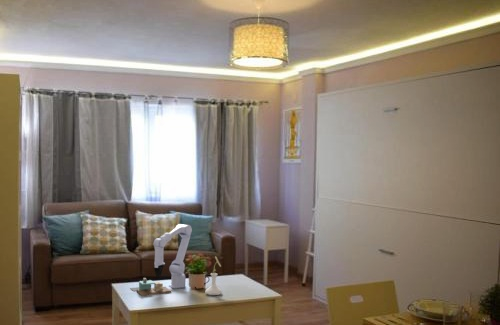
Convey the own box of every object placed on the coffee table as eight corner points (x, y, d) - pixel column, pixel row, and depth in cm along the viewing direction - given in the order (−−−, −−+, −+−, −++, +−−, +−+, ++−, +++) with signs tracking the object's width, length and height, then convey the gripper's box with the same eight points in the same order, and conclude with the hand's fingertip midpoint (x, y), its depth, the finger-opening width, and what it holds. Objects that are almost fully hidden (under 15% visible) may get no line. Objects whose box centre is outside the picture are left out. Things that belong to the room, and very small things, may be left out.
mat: (143, 287, 358) (143, 286, 358) (147, 289, 351) (147, 289, 351) (129, 288, 353) (129, 288, 353) (133, 291, 346) (133, 290, 346)
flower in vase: (219, 297, 337) (220, 259, 337) (202, 295, 339) (203, 258, 339) (224, 292, 350) (225, 255, 350) (208, 291, 352) (209, 254, 352)
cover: (150, 288, 348) (151, 276, 348) (154, 291, 341) (154, 279, 341) (138, 289, 344) (139, 277, 344) (142, 292, 337) (142, 280, 337)
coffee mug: (190, 287, 361) (191, 273, 361) (201, 285, 366) (201, 271, 366) (199, 290, 352) (199, 276, 352) (210, 289, 357) (210, 274, 357)
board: (165, 288, 355) (165, 286, 355) (171, 292, 345) (171, 290, 345) (136, 291, 345) (136, 289, 345) (142, 295, 335) (142, 293, 335)
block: (160, 290, 349) (160, 282, 349) (162, 292, 346) (162, 283, 346) (154, 291, 347) (154, 282, 347) (156, 293, 343) (156, 284, 343)
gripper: (162, 258, 339) (161, 279, 339) (167, 254, 353) (167, 274, 353) (151, 258, 339) (151, 278, 339) (157, 254, 354) (157, 273, 354)
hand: (158, 276), depth 346 cm, fingers open, 4 cm apart
